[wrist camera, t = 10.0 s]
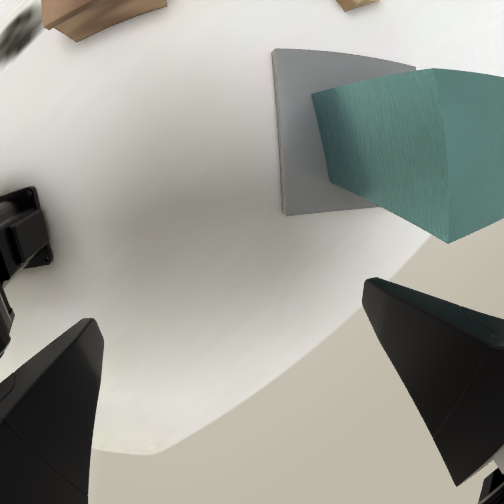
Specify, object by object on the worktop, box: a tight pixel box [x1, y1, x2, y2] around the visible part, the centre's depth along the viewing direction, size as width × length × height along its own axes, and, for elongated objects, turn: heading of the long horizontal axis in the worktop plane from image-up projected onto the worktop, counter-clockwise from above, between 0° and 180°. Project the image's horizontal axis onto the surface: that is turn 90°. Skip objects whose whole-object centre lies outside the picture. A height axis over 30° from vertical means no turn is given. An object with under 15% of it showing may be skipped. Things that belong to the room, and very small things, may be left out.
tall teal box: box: [311, 68, 504, 244], centre depth 14 cm, size 6×6×12 cm
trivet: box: [272, 49, 416, 216], centre depth 19 cm, size 12×12×1 cm
